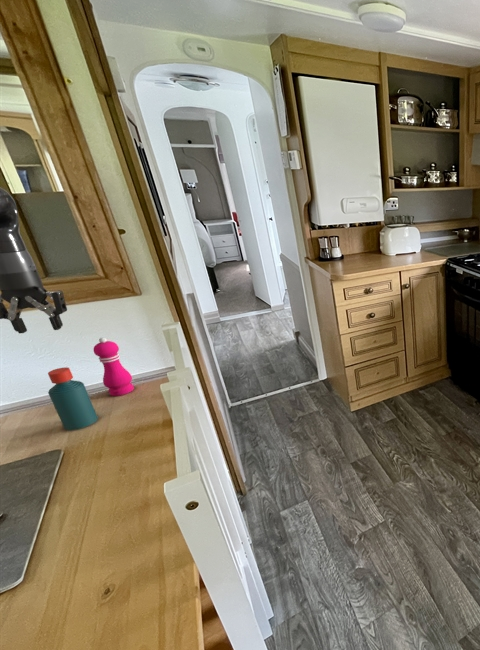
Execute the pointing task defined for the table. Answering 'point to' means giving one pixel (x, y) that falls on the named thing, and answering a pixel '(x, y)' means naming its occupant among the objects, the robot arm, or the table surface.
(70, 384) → the bottle
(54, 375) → the cap
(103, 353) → the pepper mill
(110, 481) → the table surface
